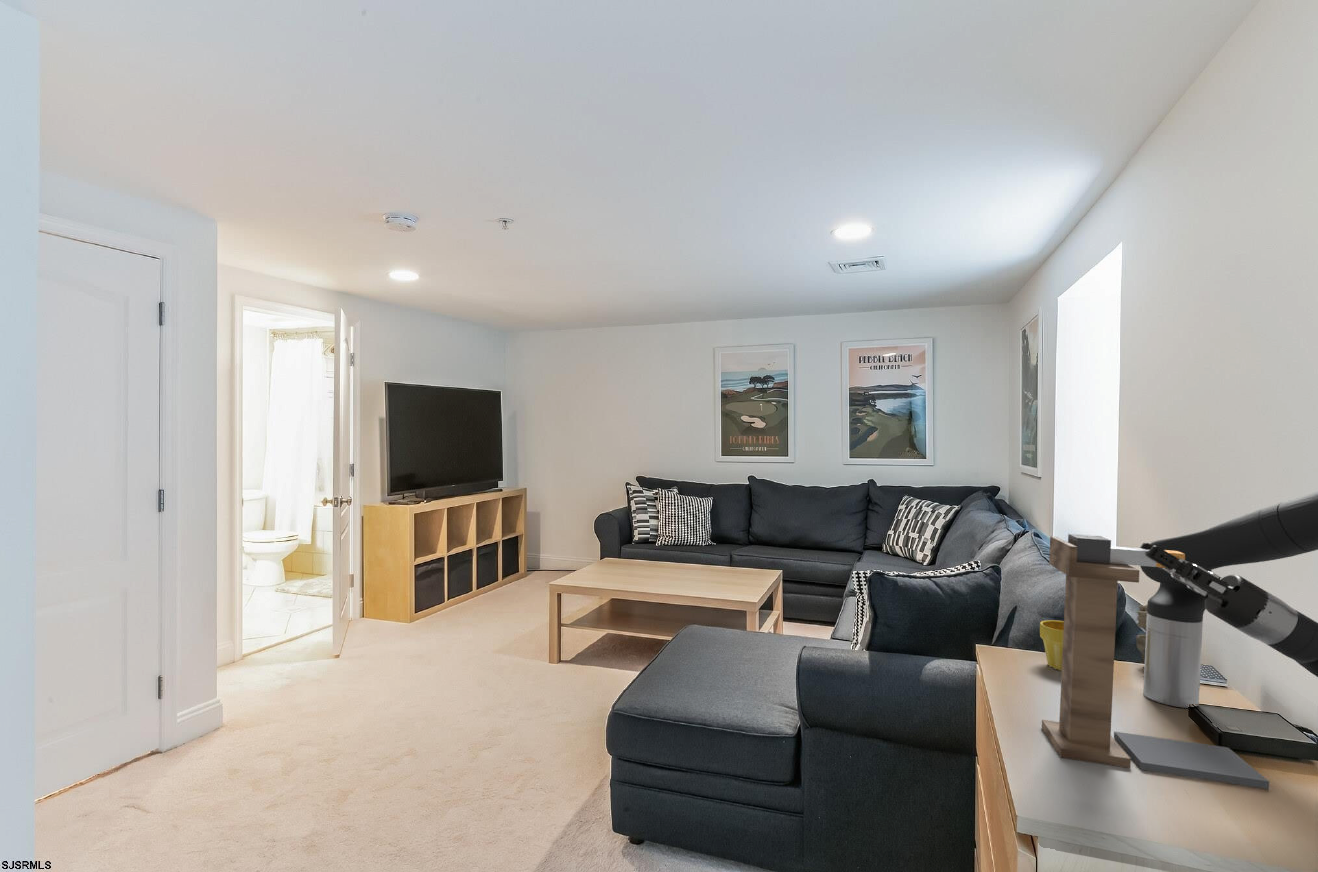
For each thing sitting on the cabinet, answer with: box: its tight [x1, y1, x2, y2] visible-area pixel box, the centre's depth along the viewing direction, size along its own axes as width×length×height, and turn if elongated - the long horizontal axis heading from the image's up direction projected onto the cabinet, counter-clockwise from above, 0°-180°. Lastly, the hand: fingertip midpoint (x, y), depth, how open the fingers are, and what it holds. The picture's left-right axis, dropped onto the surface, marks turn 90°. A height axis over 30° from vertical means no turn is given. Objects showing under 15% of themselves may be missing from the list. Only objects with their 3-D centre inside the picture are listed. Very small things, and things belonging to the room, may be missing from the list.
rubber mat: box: [1113, 731, 1270, 790], centre depth 113 cm, size 12×17×1 cm
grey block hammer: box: [1067, 533, 1185, 568], centre depth 115 cm, size 5×16×4 cm, turn 74°
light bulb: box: [1136, 604, 1147, 665], centre depth 161 cm, size 6×6×15 cm
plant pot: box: [1039, 619, 1064, 671], centre depth 159 cm, size 10×10×10 cm
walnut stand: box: [1041, 535, 1140, 769], centre depth 117 cm, size 12×10×35 cm
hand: (1146, 548), depth 115 cm, fingers closed on grey block hammer, 3 cm apart
